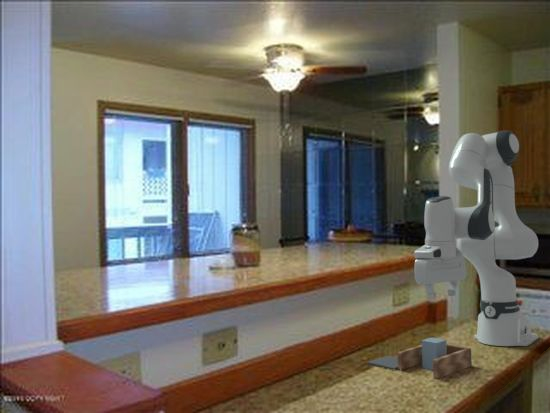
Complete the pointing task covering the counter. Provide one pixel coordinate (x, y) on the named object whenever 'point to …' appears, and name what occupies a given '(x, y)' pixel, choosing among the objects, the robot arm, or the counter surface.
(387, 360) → the pad
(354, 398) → the counter surface
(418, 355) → the frame
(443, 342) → the block
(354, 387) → the counter surface
